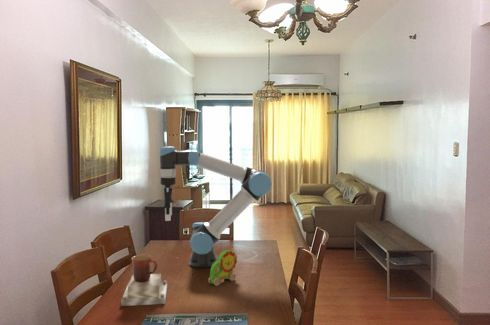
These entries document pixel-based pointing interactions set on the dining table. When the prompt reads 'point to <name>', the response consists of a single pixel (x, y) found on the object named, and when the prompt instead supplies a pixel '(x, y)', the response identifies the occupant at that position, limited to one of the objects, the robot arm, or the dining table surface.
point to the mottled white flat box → (145, 292)
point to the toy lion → (223, 267)
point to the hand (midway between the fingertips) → (168, 217)
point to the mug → (142, 267)
